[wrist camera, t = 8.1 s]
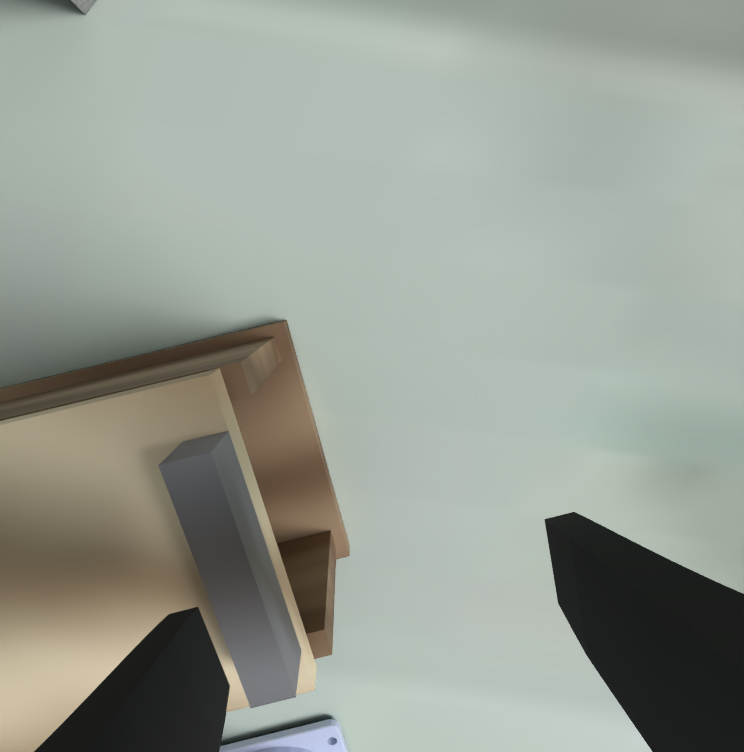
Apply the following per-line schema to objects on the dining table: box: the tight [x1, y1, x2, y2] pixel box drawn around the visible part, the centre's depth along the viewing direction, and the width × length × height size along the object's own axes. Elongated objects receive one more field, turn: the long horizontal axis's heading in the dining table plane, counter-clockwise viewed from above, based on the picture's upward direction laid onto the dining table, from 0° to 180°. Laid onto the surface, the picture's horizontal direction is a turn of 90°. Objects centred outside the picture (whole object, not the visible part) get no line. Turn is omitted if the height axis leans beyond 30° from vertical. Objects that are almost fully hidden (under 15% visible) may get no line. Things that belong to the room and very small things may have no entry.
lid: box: [0, 368, 317, 752], centre depth 11 cm, size 10×11×2 cm
